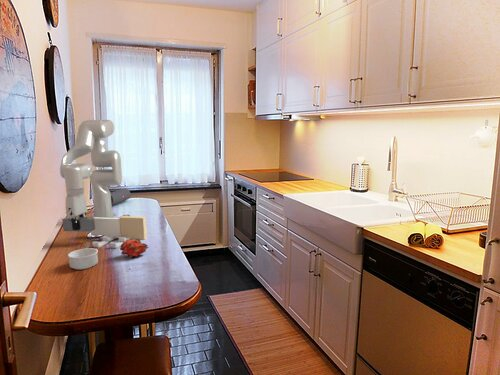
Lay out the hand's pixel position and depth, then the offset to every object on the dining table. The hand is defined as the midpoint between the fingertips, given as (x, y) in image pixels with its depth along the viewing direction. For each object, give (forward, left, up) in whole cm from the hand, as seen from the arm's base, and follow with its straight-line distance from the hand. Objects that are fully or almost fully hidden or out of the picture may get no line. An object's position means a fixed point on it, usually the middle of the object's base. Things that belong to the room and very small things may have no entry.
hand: (79, 228), depth 182 cm
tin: (-22, +10, -8) cm, 25 cm away
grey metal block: (0, 0, -1) cm, 1 cm away
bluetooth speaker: (-87, -32, -8) cm, 93 cm away
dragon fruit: (+13, +36, -8) cm, 39 cm away
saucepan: (+23, +19, -8) cm, 31 cm away
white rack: (-3, +14, -8) cm, 16 cm away
